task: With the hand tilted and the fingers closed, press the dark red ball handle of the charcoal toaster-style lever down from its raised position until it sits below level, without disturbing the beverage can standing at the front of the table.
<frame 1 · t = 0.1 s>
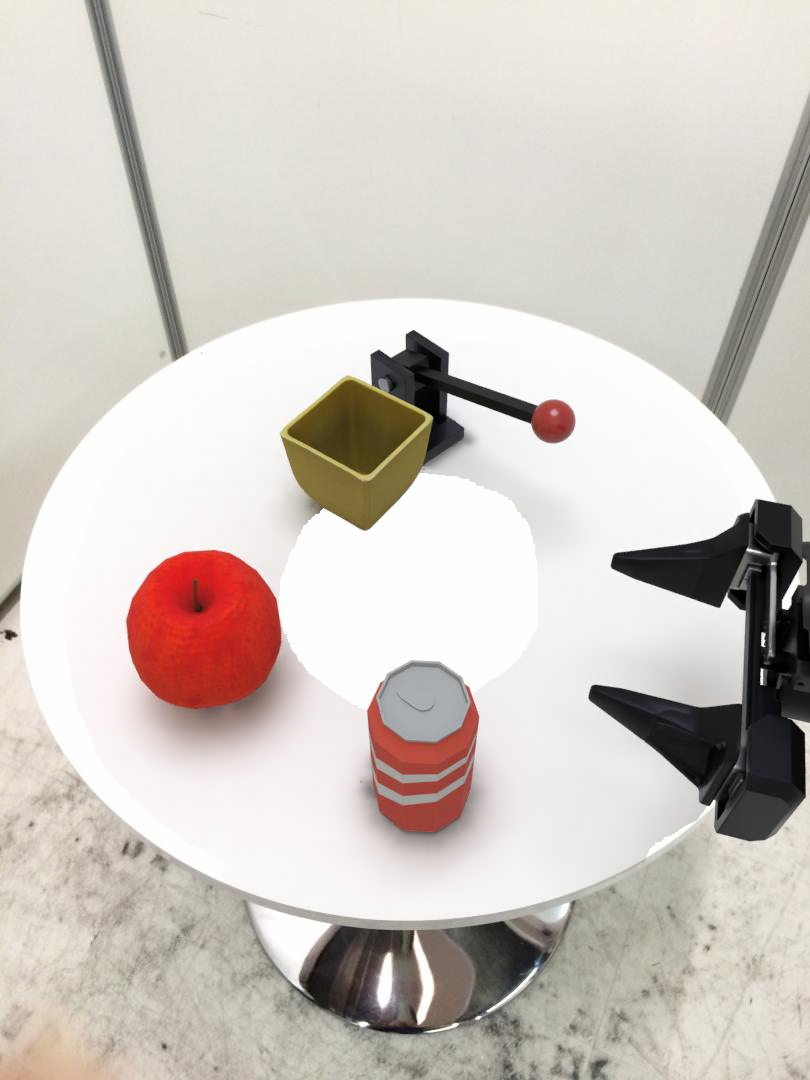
hand: (601, 622, 48), 14 cm above the table, tool horizontal, fingers open, 9 cm apart
lever: (476, 394, 69), point 9 cm above the table, hinge at 16.0°
bracket: (410, 430, 79), on the table
apple: (222, 683, 63), on the table
beverage can: (421, 791, 57), on the table
flower pot: (362, 504, 74), on the table
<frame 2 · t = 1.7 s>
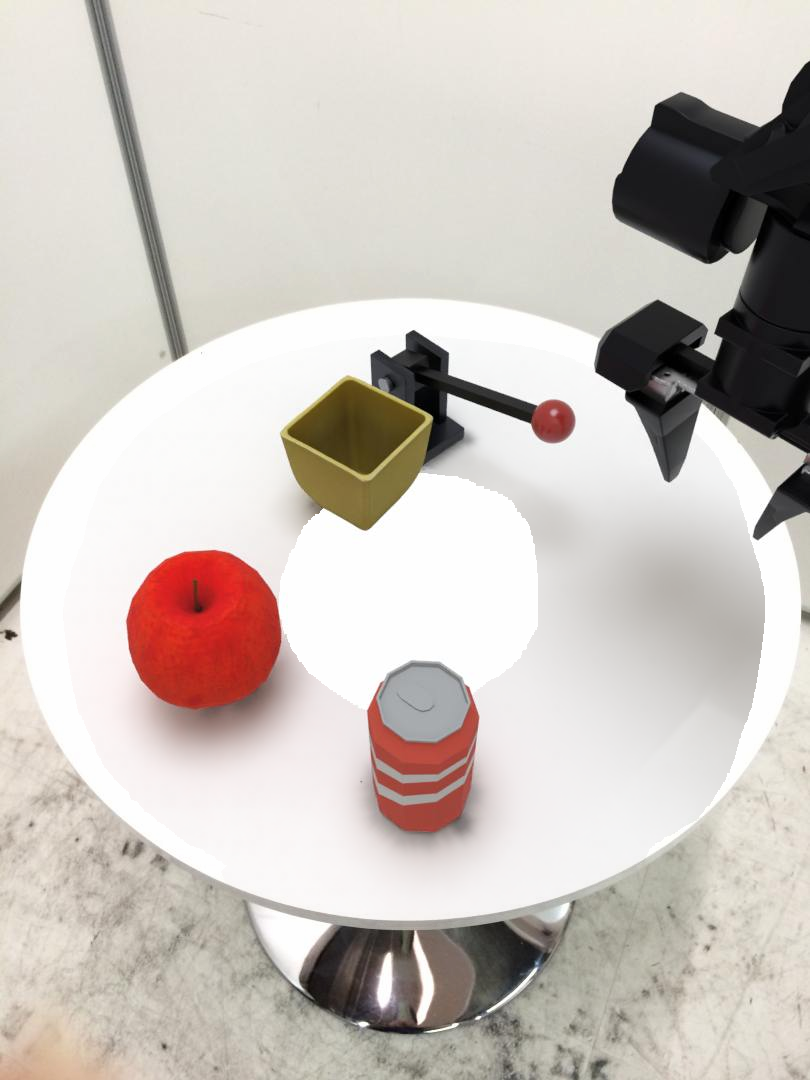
hand: (713, 506, 56), 13 cm above the table, tool pointing down, fingers open, 6 cm apart
nothing on the table moved.
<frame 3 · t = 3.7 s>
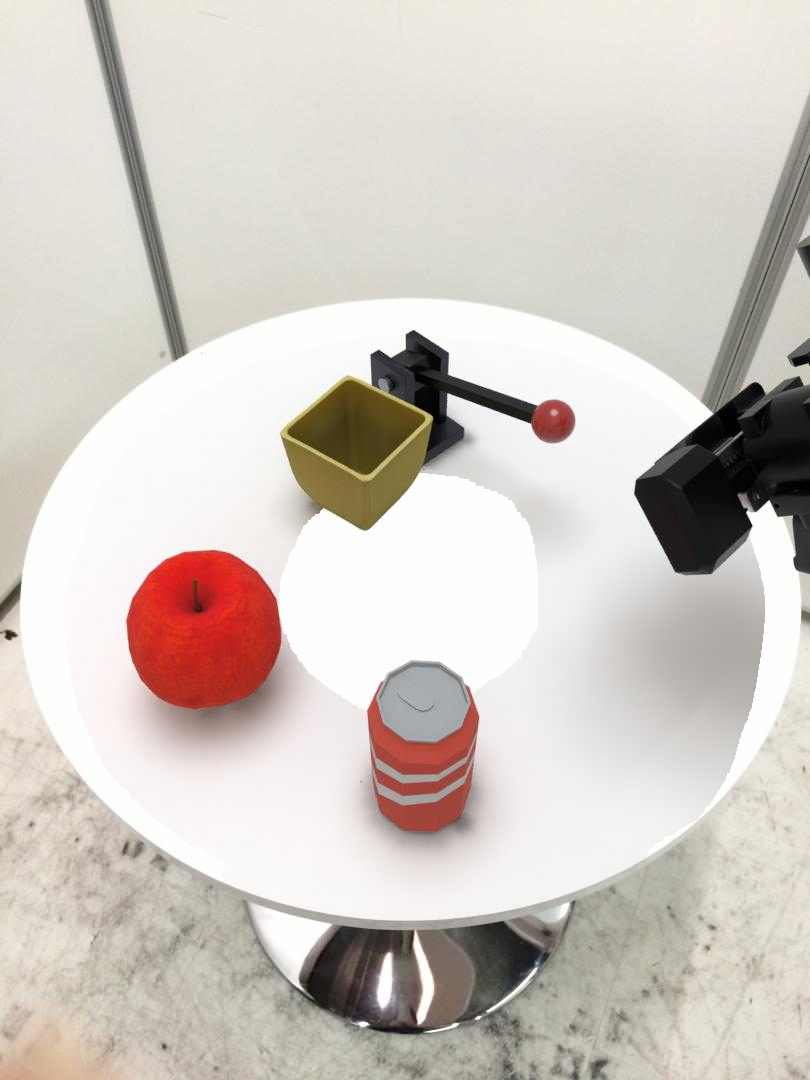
hand: (660, 467, 57), 13 cm above the table, tool tilted 45°, fingers closed
nothing on the table moved.
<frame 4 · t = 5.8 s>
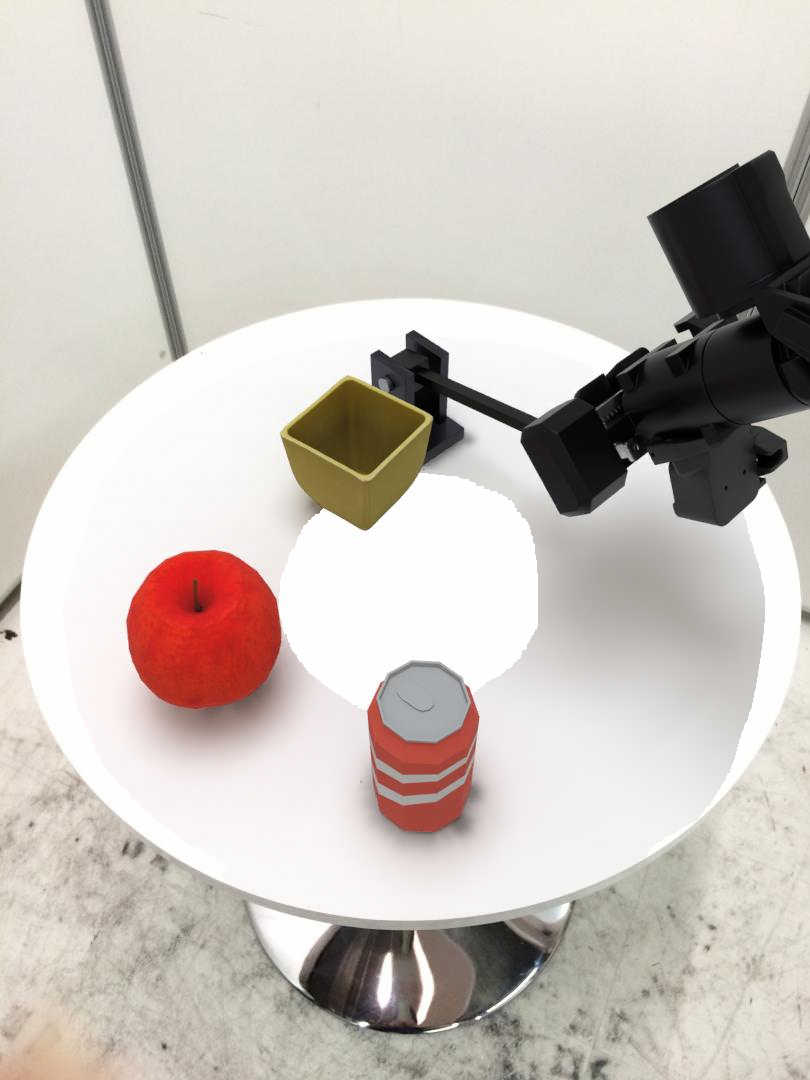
hand: (565, 429, 63), 11 cm above the table, tool tilted 45°, fingers closed, pressing on lever
lever: (477, 401, 69), point 9 cm above the table, hinge at 11.3°, touching gripper
everything else where it was.
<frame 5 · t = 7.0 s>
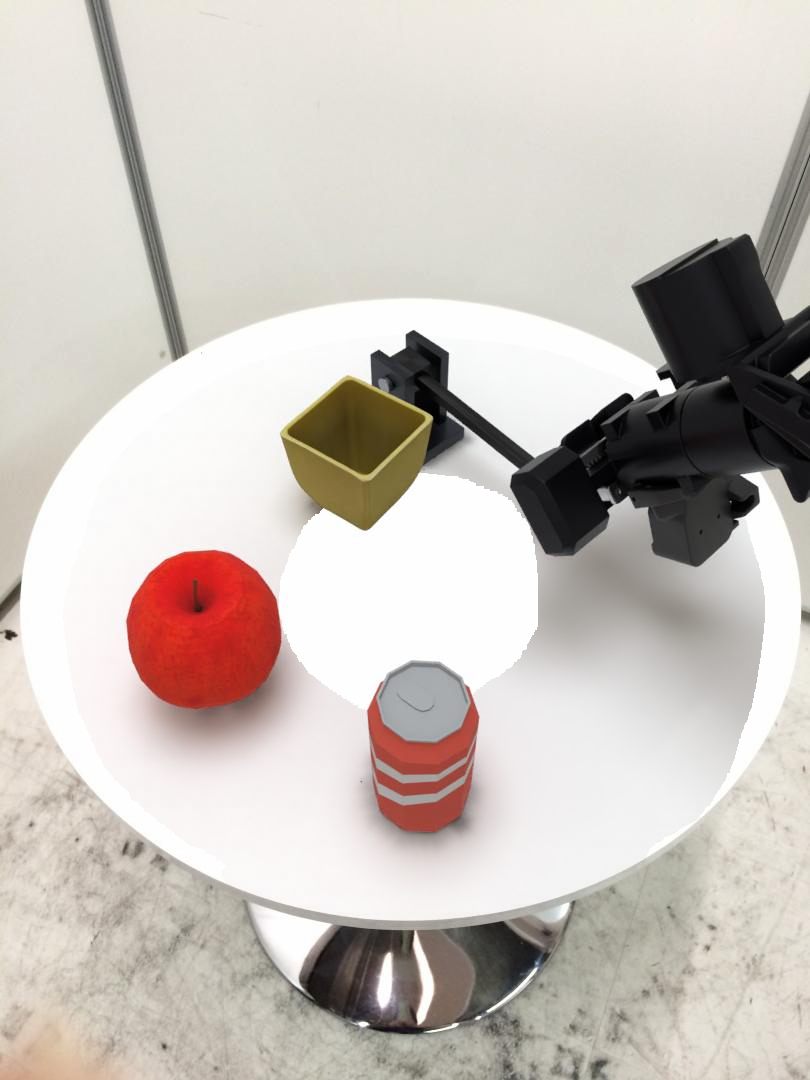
hand: (552, 464, 66), 7 cm above the table, tool tilted 45°, fingers closed, pressing on lever
lever: (477, 424, 71), point 6 cm above the table, hinge at -5.3°, touching gripper
everything else where it was.
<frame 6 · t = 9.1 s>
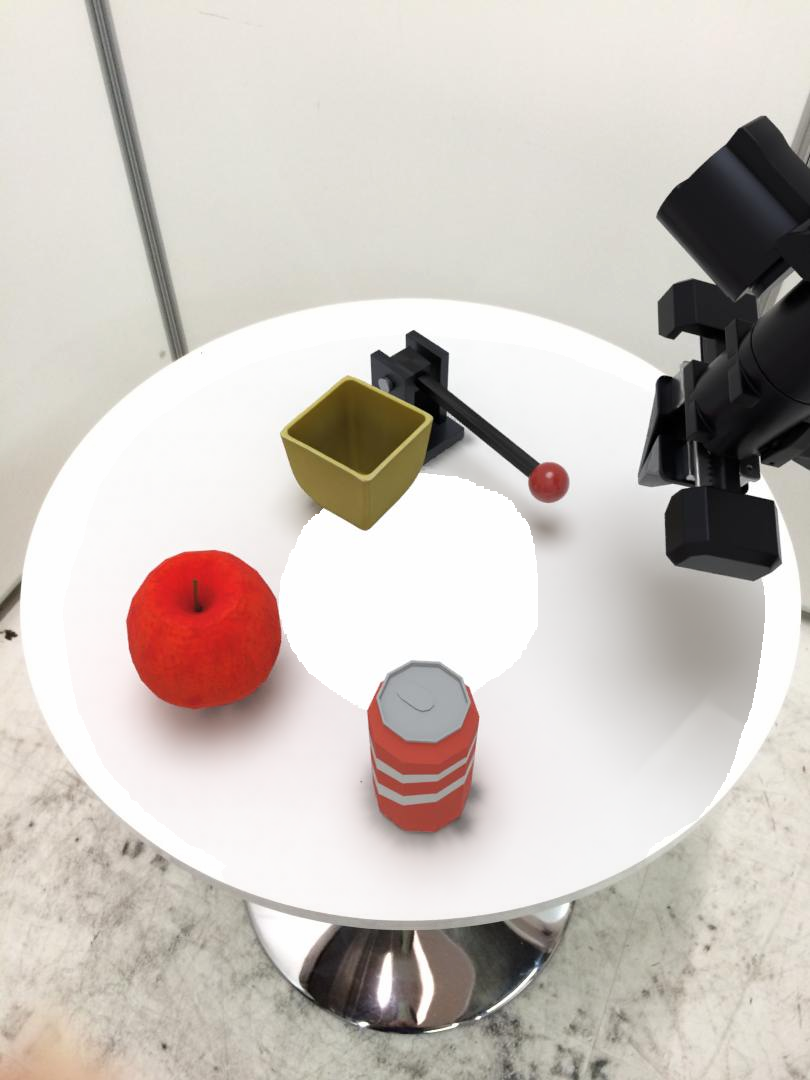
hand: (644, 481, 59), 11 cm above the table, tool tilted 25°, fingers closed
lever: (477, 424, 71), point 6 cm above the table, hinge at -5.8°
everything else where it was.
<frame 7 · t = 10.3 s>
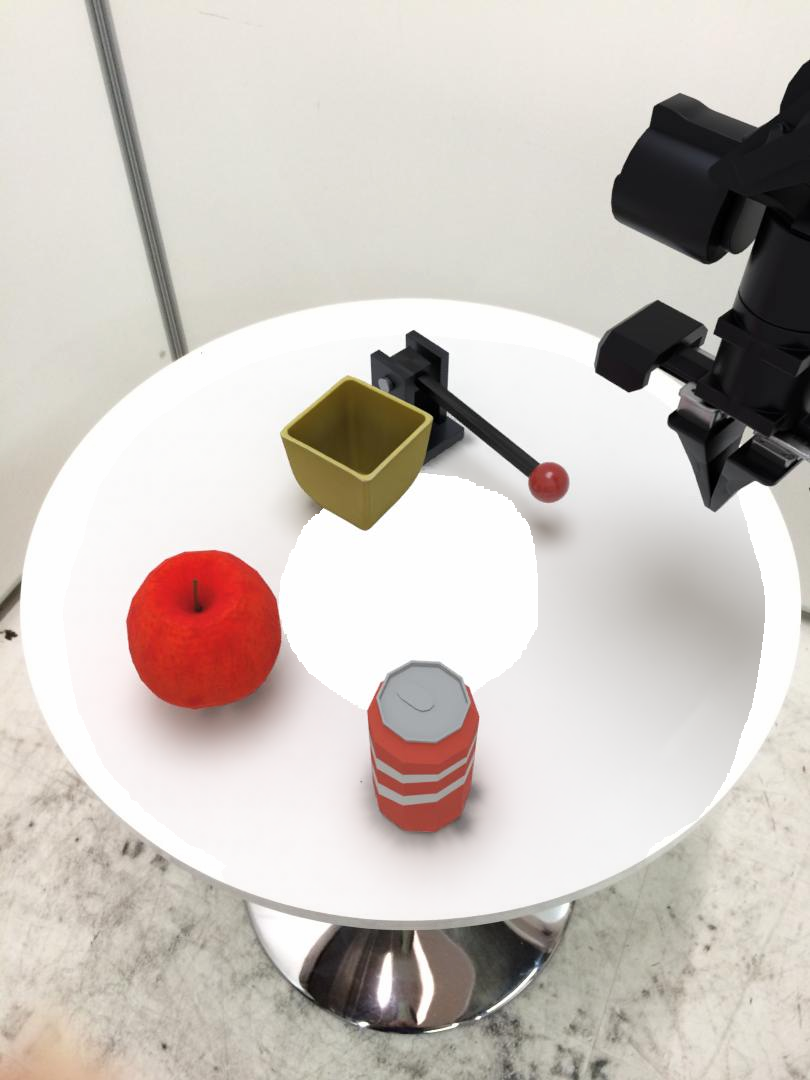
hand: (714, 506, 56), 13 cm above the table, tool pointing down, fingers closed
nothing on the table moved.
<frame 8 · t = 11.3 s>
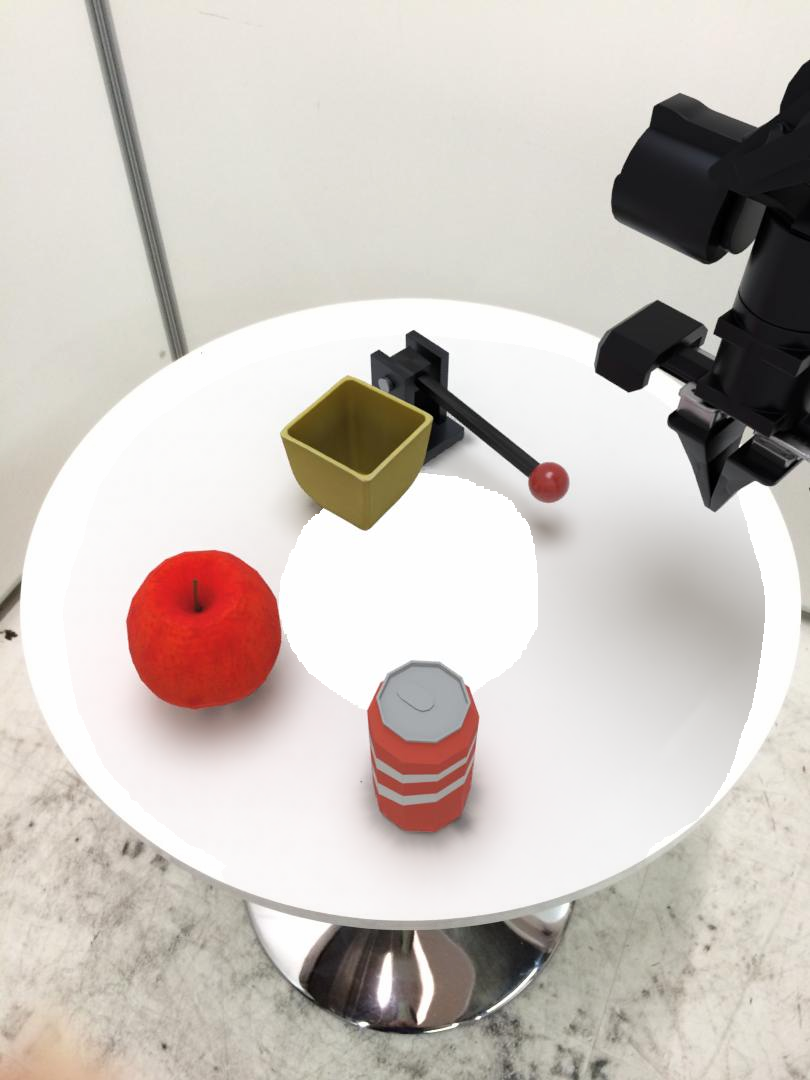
hand: (714, 506, 56), 13 cm above the table, tool pointing down, fingers closed
nothing on the table moved.
at the end: lever at -6° (first picture: +16°); beverage can moved 0.2 cm from its start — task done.
